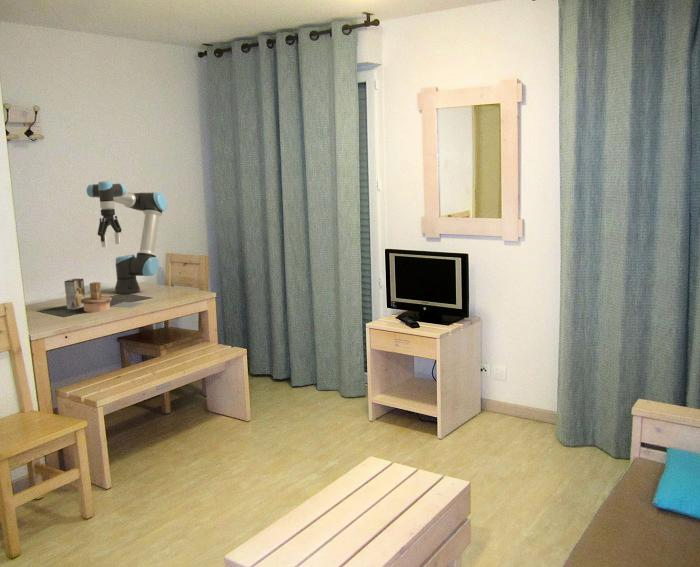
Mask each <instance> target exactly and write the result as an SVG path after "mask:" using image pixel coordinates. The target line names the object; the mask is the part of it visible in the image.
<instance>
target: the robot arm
mask: <svg viewBox="0 0 700 567" xmlns="http://www.w3.org/2000/svg"><path fill="white" fill-rule="evenodd" d="M86 194H87V196H88V197H89V198H99V205H100V216H102V217H100V218H99V223H98V230H97V236H99V237H100V243H101V248H107V236H106V232H107V230H108V227H109V226H111V227H112V229H113V231H114V232H113V234H114V242H115V245H121V239H120V233H122V227H121V225H120V223H119V222H120V221H119V220H118V216H117V215H116V212H115V203H118V204H119V205H120V204H121V205H123V206H125V207H126V208H129V209H132V210H136V211H141V212H142V213H143V214H144V219H143V220H144V221H143V227H142V234H141V240H140V248H139V251H138V252H136V256H135V255H134V254H127V255H122V256H117V257H115V269H116V270H115V272H116V284H115V288H114V294H117V295H118V294H119V295H126V294H127V295H128V294H134V293H136V294H137V293H139V292H141V287H140V285H139V283H138V282H139V281H138V280H137V277H152V276H155V275H156V273H157V272H158V270H159V265H160V263H159V260H158V258H157V256H156V253H155V248H156V240H157V233H158V227H159V221H160V220H159V219H160V217H161V216H162V214H163V212H165V211H166V210H167V209H168V208H167V207H168V201H167V198H166V196H165V195H164V194H163V193H162V192H155V191H154V192H130V191H128V192H127V187H126V185H125V184H123V183H113V182H112V181H110V180H108V181H107V180H106V181H105V180H104V181H103V180H102V181H98V184H97V183H96V184H95V183H93V184H88V185H87V186H86Z"/></svg>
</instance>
